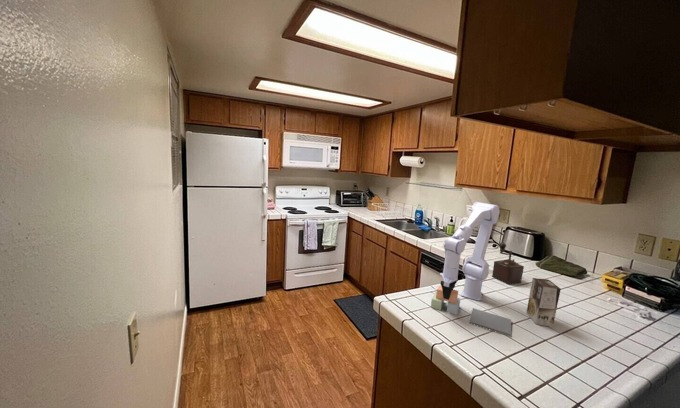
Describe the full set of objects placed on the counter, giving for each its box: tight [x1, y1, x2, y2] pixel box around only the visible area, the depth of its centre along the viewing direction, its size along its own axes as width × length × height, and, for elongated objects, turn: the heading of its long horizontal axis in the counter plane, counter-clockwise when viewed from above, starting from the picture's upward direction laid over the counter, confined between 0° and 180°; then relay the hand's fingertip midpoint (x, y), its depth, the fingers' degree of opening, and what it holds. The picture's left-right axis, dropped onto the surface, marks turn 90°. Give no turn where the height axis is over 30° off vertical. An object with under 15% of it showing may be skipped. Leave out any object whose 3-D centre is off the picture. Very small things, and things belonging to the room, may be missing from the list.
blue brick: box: [446, 297, 461, 316], centre depth 119 cm, size 8×4×4 cm, turn 151°
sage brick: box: [430, 291, 445, 311], centre depth 122 cm, size 8×4×4 cm, turn 150°
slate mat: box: [468, 307, 512, 337], centre depth 111 cm, size 12×14×1 cm
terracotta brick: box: [436, 285, 459, 304], centre depth 120 cm, size 8×4×4 cm, turn 61°
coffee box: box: [526, 277, 562, 328], centre depth 114 cm, size 9×6×16 cm
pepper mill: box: [491, 242, 525, 286], centre depth 155 cm, size 16×11×18 cm
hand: (447, 296), depth 120 cm, fingers open, 4 cm apart
